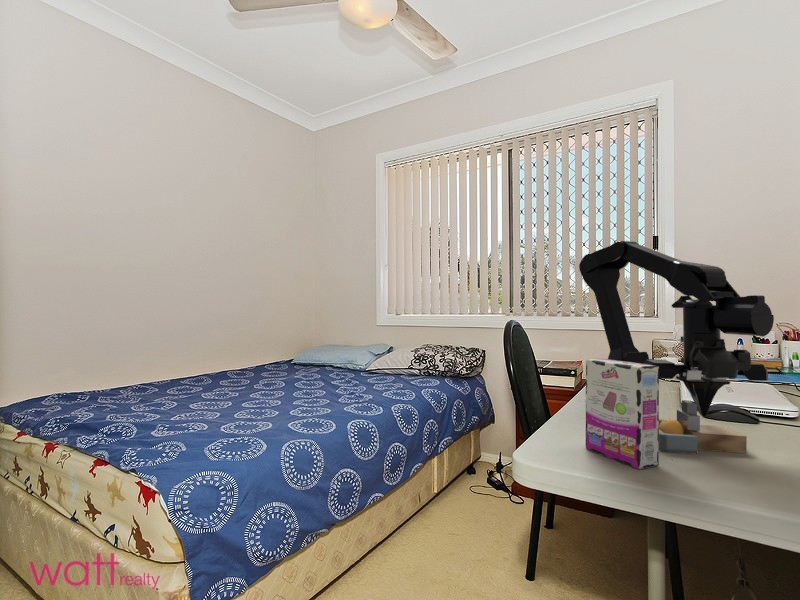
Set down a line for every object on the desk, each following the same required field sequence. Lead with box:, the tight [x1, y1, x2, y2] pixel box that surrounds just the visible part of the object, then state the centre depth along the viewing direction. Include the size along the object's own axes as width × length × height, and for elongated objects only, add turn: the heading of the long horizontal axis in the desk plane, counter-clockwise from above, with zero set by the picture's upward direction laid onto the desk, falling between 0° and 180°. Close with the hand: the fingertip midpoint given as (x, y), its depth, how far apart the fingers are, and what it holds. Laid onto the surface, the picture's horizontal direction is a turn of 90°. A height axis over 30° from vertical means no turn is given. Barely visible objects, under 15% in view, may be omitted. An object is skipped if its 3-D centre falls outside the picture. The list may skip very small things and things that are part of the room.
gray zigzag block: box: [676, 399, 701, 431], centre depth 81 cm, size 2×5×5 cm, turn 168°
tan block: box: [683, 424, 748, 454], centre depth 80 cm, size 8×6×3 cm
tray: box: [659, 418, 698, 455], centre depth 82 cm, size 6×11×3 cm, turn 168°
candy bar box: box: [585, 358, 660, 470], centre depth 74 cm, size 11×5×16 cm, turn 23°
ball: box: [659, 418, 684, 434], centre depth 82 cm, size 4×4×4 cm
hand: (702, 415), depth 81 cm, fingers closed
